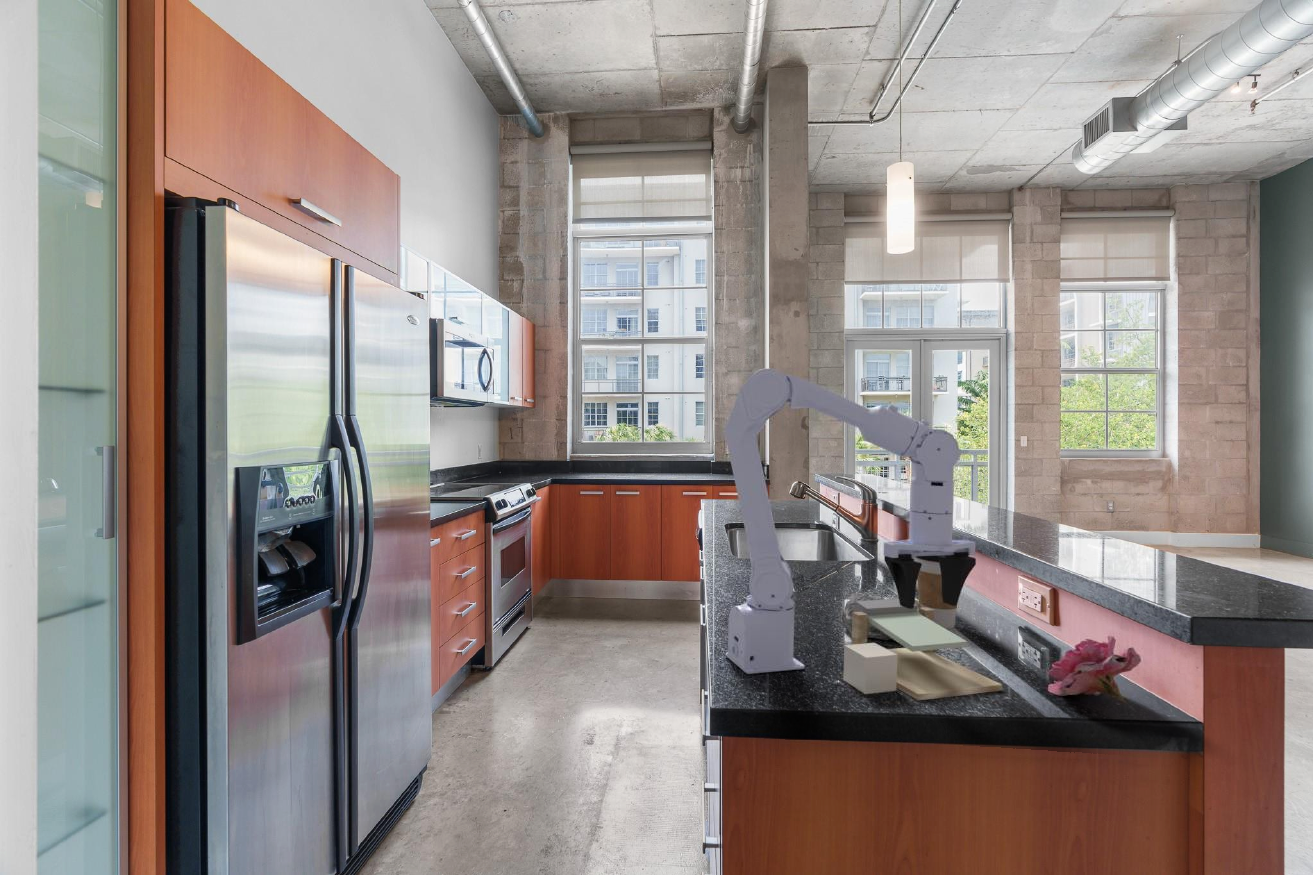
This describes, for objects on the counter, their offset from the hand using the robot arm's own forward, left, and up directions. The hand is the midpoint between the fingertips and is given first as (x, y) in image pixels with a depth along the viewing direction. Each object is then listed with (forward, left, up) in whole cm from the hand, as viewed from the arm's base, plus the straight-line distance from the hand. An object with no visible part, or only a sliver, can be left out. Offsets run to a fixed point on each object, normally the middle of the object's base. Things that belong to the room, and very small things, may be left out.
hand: (928, 605), depth 90 cm
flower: (+17, -11, -11) cm, 23 cm away
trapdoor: (0, +4, -6) cm, 7 cm away
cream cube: (-10, -1, -10) cm, 15 cm away
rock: (+8, +19, -11) cm, 23 cm away
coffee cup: (+21, +21, -11) cm, 32 cm away
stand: (0, +2, -10) cm, 11 cm away
